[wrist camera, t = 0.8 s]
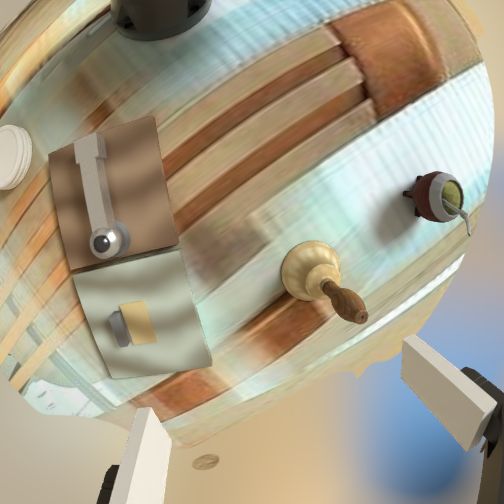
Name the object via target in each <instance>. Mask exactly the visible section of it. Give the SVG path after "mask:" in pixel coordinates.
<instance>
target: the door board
mask: <svg viewBox="0 0 504 504" xmlns="http://www.w3.org/2000/svg"><path fill="white" fill-rule="evenodd" d="M99 134H101V135H103V136H104V139H105V147H106V154H107V159H104V165H105V171H106V177H107V183H108V188H109V194H110V199H111V204H112V209H113V213H114V218H115V222H116V226H117V227H119V228H120V229H121V230H122V231H123V233H124V236H125V245H124V247H123V249H122V250H121V251H120V252H119V253H117V254H115V255H113V256H111V257H110V258H107V259H101V258H98V257H97V256H95V255H94V254H93V252H92V250H91V248H90V237H91V235H92V233H93V232H92V228H91V223H90V219H89V214H88V209H87V204H86V199H85V193H84V188H83V182H82V175H81V169H80V165H78V164H76V158H75V150H74V143H73V144H70V145H68V146H66V147H63V148H61V149H59V150H57V151H54V152H52V153H50V154H48V156H49V165H50V173H51V181H52V188H53V194H54V200H55V206H56V211H57V216H58V221H59V226H60V231H61V235H62V239H63V243H64V247H65V251H66V255H67V259H68V263H69V266H70V270H73V269H77V268H81V267H85V266H89V265H93V264H97V263H101V262H105V261H109V260H113V259H117V258H121V257H125V256H130V255H134V254H138V253H142V252H146V251H150V250H155V249H159V248H163V247H168V246H172V245H176V244H178V243H179V239H178V235H177V231H176V226H175V222H174V217H173V213H172V208H171V204H170V199H169V194H168V189H167V184H166V179H165V174H164V169H163V164H162V158H161V153H160V147H159V142H158V136H157V130H156V123H155V118H154V117H153V116H148V117H145V118H142V119H138V120H135V121H132V122H129V123H126V124H123V125H120V126H117V127H114V128H111V129H108V130H106V131H103V132H100V133H99ZM73 280H74V283H75V286H76V289H77V292H78V295H79V298H80V301H81V304H82V307H83V310H84V313H85V315H86V318H87V321H88V323H89V326H90V328H91V331H92V333H93V336H94V338H95V341H96V343H97V346H98V348H99V350H100V352H101V355H102V357H103V359H104V361H105V364H106V366H107V368H108V370H109V372H110V374H111V376H112V378H113V379H117V378H129V377H139V376H148V375H156V374H164V373H172V372H179V371H186V370H192V369H198V368H204V367H210V366H212V358H211V355H210V352H209V348H208V345H207V342H206V339H205V335H204V332H203V329H202V325H201V322H200V319H199V315H198V312H197V308H196V305H195V301H194V298H193V294H192V290H191V287H190V283H189V279H188V275H187V271H186V268H185V264H184V260H183V256H182V252H181V249H176V250H172V251H168V252H163V253H159V254H155V255H150V256H146V257H142V258H137V259H133V260H129V261H125V262H121V263H116V264H112V265H108V266H104V267H100V268H96V269H92V270H87V271H83V272H79V273H76V274H75V275H73Z"/></svg>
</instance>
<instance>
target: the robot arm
mask: <svg viewBox="0 0 504 504" xmlns="http://www.w3.org/2000/svg"><path fill="white" fill-rule="evenodd" d="M211 2H212V0H111V18H112V21H113V23H114V24H115V26H116V28H117V29H118V31H119V32H120V33H121V34H123V35H124V36H126V37H128V38H130V39H134V40H140V41H153V40H160V39H165V38H168V37H172V36H174V35H177V34H179V33H182V32H184V31H186V30H188V29H189V28H191V27H192V26H194V25H195V24H197V23H198V22H199V21H200V20H201V19H202V18H203V17H204V16H205V15H206V13H207V12H208V10H209V8H210V6H211ZM401 379H402V380H403V381H404V382H405V383H406V384H407V385H408V386H409V387H410V389H411V390H412V391H413V392H414V393H415V394H416V395H417V396H418V397H419V399H420V400H421V401H422V402H423V403H424V404H425V405H426V406H427V408H428V409H429V410H430V411H431V412H432V413H433V414H434V415H435V416H436V418H437V419H438V420H439V421H440V422H441V423H442V424H443V426H444V427H445V428H446V429H447V430H448V431H449V432H450V433H451V435H452V436H453V437H454V438H455V439H456V440H457V441H458V443H459V444H460V445H461V446H462V447H463V448H464V450H465V451H466V452H467V451H469V450H471V449H472V448H473V447H475V446H476V445H477V444H478V443H479V442H480V440H481V438H482V436H484V437H485V438H486V440H485V443H484V444H483V446H482V448H481V451H480V452H482V451H483V450H484V448H485V450H484V461H483V470H482V477H481V484H480V490H479V495H478V501H477V504H504V393H503V392H502V391H501V390H499V389H498V388H497V387H496V386H494V385H493V384H492V383H491V382H489V381H487V379H486V378H484V377H482V375H480V374H479V373H478V372H477V371H476V370H474V369H471V368H468V367H464V368H463V369H462V370H458V369H457V368H456V367H455V366H454V365H452V364H451V363H450V362H449V361H447V360H446V359H445V358H444V357H443V356H441V355H440V354H439V353H438V352H436V351H435V350H434V349H433V348H431V347H430V346H429V345H428V344H426V343H425V342H424V341H422V340H421V339H420V338H419V337H417V336H416V335H415V334H412V335H410V336H408V337H406V338H404V339H403V342H402V369H401ZM171 444H172V440H171V438H170V437H169V435H168V434H167V432H166V431H165V429H164V428H163V426H162V424H161V423H160V421H159V420H158V418H157V416H156V415H155V413H154V411H153V410H152V408H151V407H146V408H138V409H137V412H136V415H135V418H134V421H133V425H132V428H131V431H130V434H129V437H128V440H127V443H126V446H125V450H124V453H123V456H122V460H121V463H120V465H112V466H111V467H110V468H109V469H108V471H107V472H106V475H105V478H104V482H103V484H102V489H101V490H100V494H99V497H98V500H97V504H163V501H164V493H165V485H166V478H167V470H168V463H169V456H170V450H171Z"/></svg>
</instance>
